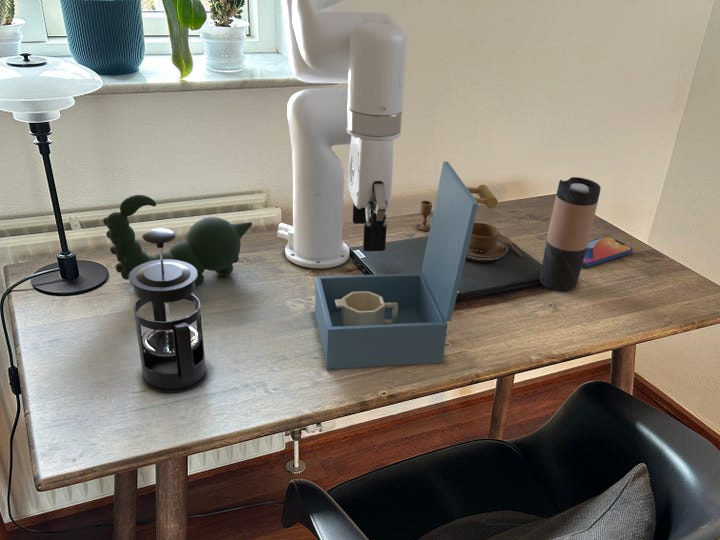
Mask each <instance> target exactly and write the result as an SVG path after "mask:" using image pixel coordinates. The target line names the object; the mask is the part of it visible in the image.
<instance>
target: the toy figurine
mask: <svg viewBox="0 0 720 540" xmlns="http://www.w3.org/2000/svg"><path fill="white" fill-rule="evenodd" d="M146 206H151V207H156V206H157V202H156V201H155V200H154V199H153V198H151V197H150V196H147V195H144V194H133V195H130V196H128V197H127V198H124V200H123V201H121V203H120V205H119V211H114V212H110V214H108V216H106V217H104V218H103V220H102V222H103V224H104V225H105V226H106V227H107V229H108V230H107V231H106V234H105V235H106V237H107V238H108V239H109V240H110V242H111V243H112V244H113V245H112V246H110V248H109V251H110V253H111V254H112V255H115V256H116V260H117V261H118V262H117V263H116V265H115V267H114V268H115V270H116V272H117V273H120V276H121V278H122V279H123V280H125V281H129V274H130V272H131V271H132V270H133V269H134V268H135V267H137V266H139V265H141V264H143V263H146V262H150V261H154V260H160V252H158V253H157V254H155V255H149V254H148V253H146V251H144V250H143V249H142V245H141V244H140V242H139V241H138V240H137V239H136V233H135V231H134V229H133V228H132V227H131V226H130V219H129V218H128V217H131V216H133V215H134V214H135V213H136V212H137V211H138V210H139V209H141V208H142V207H146ZM252 226H253V222H250V221H249V222H248V221H247V222H239V223H231V222H230V221H228V220H226V219H224V218H221V217H216V216H208V217H204V218H201V219H199V220H197V221H196V222H195V223H194V224H192V225H191V227H190V228H189V230H188V232H187V234H186V237H185V240H181V241H177V242H175V243H174V244H173V245H172V246H171V247H170V248H169V250H168V251H162V254H163V260H164V259H170V260H179V261H183V262H186V263H189V264H191V265H192V266H194V267H195V268H196V270H197V274H198V276H197V279H196V281H195V287H198V286H201V285H203V283H204V282H205V276H204V274H203V273H204V272H205V271H211V272H215V273H216V274H217V275H219V276H222V277H227V276H229V275H231V274H232V273H233V272H234V266H233V264H236V263H238V262H239V260H240V257H239V255H240V251H241V245H242V244H241V243H242V242H241V239H242V237H243V236H244V235H245V234H246V233H247V232H248V230H249V229H251V227H252Z"/></svg>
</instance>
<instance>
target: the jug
mask: <svg viewBox="0 0 720 540" xmlns="http://www.w3.org/2000/svg"><path fill="white" fill-rule="evenodd" d="M335 304H336V308H342V314H341V326H362V325H385V324H396V323H397V315H398V303H397V302H391V303H384V300H383V298H382V296H379V295H377V294H374V293H372V292H368V291H359V292H351V293H349V294H348V295H346V296H345V297H343V298H342V299H335ZM385 308H392V319H385V320H384V315H385Z"/></svg>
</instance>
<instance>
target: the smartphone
mask: <svg viewBox="0 0 720 540" xmlns="http://www.w3.org/2000/svg"><path fill="white" fill-rule="evenodd" d="M632 253H633V248H632V246H630V245H628V244H626V243H624V242H622V241H620V240H619V239H616V238H614V237H612V236H603V237H599V238H596V239H592V240H589V242H588V246H587V250H586V253H585V257H584V260H583V264H582V268H589V267H592V266H595V265H599V264H601V263H602V264H603V263H605V262H608V261H611V260H615V259H617V258H621V257H624V256H627V255H630V254H632Z"/></svg>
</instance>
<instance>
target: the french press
mask: <svg viewBox="0 0 720 540" xmlns="http://www.w3.org/2000/svg"><path fill="white" fill-rule="evenodd" d="M176 235H177V234H176V233H175V232H174V231H173V230H171V229H169V228H152V229H149V230H147V231H145V232H144V233H143V234H142V236H141V237H142V239H143V240H144V241H145V242H147V243H149V244H155V245H156V248H157V249H158V250H159V252H158V253H160V260H154V261H150V262H146V263H143V264H141V265H139V266H137V267H135V268H134V269H133V270H132V271H131V272H130V274H129V279H128V281H129V283H130V285H131V286H132V287H133V292H134V294H135V295H136V296H137V297H138V299H136V301H135V302H134V304H133V316H134V323H135V328H136V329H135V330H136V335H137V343H138V350H139V357H140V362H141V363H140V364H141V369H142V371H141V380H142V382H143V384H144V385H145V387H147V389H150V390H152V391H154V392H158V393H162V394H180V393H184V392H188V391H191V390H193V389H195V388H197V387H199V386H200V385H201V384H202V383H204V381H205V380H206V379H207V377H208V366H207V365H206V356H205V345H204V334H203V324H202V323H203V322H202V309H201V301H200V299H199V298H198V296H196V295H195V294H194V292H195V290H196V286H195V281H196V279H197V276H198V274H197V270H196V268H195V267H194V266H192V265H191V264H189V263H186V262H183V261H179V260H170V259H164V260H163V254H162V252H163V248H164V247H165V243H169V242H172V241H173V240H175V238H176V237H177V236H176ZM182 300H186V301H188V302H191V303H192V304H194V312H192V313H191V314H189V315H188V316H185V317H182V318H180V319H175V320H171V315H170V306H169V304H170V303H175V302H179V301H182ZM148 303H151V307H152V314H153V320H151V319H147V318H145V317H143V316H141V315H140V314H138V311H139V310H140V308H142V307H143V306H144V305H146V304H148ZM195 322H196V327H194V326H192V324H193V323H195ZM141 326H142V327H143V328H146V329H147V330H145V332H144V333H143V334H142V327H141ZM169 361H176V362H175V363H176V370H177V372H171V373H170V372H167V373H166V372H160V371H156V370H154V369H155V368H156V367H158V366H159V365H160V364H162V363H166V362H169Z"/></svg>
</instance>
